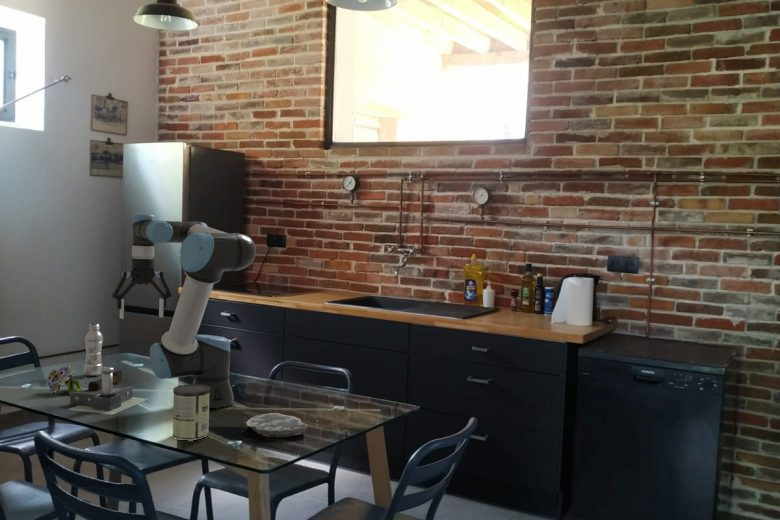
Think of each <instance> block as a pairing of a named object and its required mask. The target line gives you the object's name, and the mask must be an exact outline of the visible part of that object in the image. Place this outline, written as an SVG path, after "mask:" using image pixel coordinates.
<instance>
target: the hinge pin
mask: <svg viewBox="0 0 780 520" xmlns="http://www.w3.org/2000/svg"><path fill="white" fill-rule="evenodd" d="M101 372H102V373H101V379H102V389H101V394H102V397H104V398H111V397H112V392H113V384H112V383H113V372H115V367H114V366H102V368H101Z"/></svg>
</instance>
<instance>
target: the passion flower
mask: <svg viewBox="0 0 780 520" xmlns="http://www.w3.org/2000/svg"><path fill="white" fill-rule="evenodd" d="M71 368H72V365H71V364H68V365H67V367H65V366H64V367H61V368H60V369H59V370H58V369H57V368H54V369H52V371H50V372H49V374H48V376H47V377H48V379H49V380H47V381H46V383H47V384H48V386H49V389H50V390H49V392H51V393H50V394H51V395H52V394H53V395H54V394H57V393H58V392H59V391H60V389H61V387H64V386H66V387H67V390H68V394H69V396H70V392H75V391H76V392H81V390H82V383H81V382H80V381H81V380H84V384H87V383H88V381H87V377H86V376H85V377H82V378H80V379H73V375H74V374H75V370H71Z"/></svg>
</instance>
